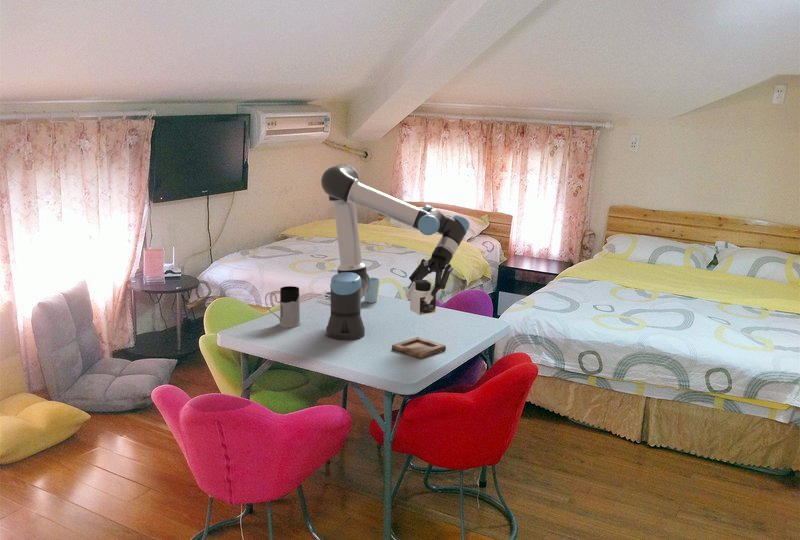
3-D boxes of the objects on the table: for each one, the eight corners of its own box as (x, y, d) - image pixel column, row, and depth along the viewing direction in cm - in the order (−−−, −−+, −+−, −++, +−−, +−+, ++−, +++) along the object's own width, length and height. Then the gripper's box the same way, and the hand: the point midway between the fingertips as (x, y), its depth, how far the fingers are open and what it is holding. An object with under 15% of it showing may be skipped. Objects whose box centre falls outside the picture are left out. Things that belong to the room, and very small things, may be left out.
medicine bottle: (419, 315, 259) (420, 284, 256) (409, 310, 265) (410, 279, 262) (435, 312, 263) (436, 281, 260) (425, 307, 269) (426, 277, 266)
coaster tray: (391, 349, 257) (392, 344, 257) (417, 341, 268) (417, 336, 267) (420, 359, 248) (420, 354, 248) (445, 350, 258) (445, 345, 258)
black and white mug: (302, 326, 282) (302, 290, 279) (267, 329, 277) (266, 292, 274) (298, 320, 290) (298, 285, 287) (263, 323, 285) (263, 287, 282)
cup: (378, 303, 319) (378, 281, 316) (361, 303, 319) (362, 281, 317) (379, 299, 326) (379, 277, 324) (363, 299, 326) (363, 277, 324)
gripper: (471, 261, 264) (443, 311, 256) (427, 253, 278) (399, 299, 270) (463, 249, 259) (435, 299, 251) (418, 241, 273) (390, 289, 265)
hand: (416, 299), depth 260 cm, fingers closed on medicine bottle, 8 cm apart
